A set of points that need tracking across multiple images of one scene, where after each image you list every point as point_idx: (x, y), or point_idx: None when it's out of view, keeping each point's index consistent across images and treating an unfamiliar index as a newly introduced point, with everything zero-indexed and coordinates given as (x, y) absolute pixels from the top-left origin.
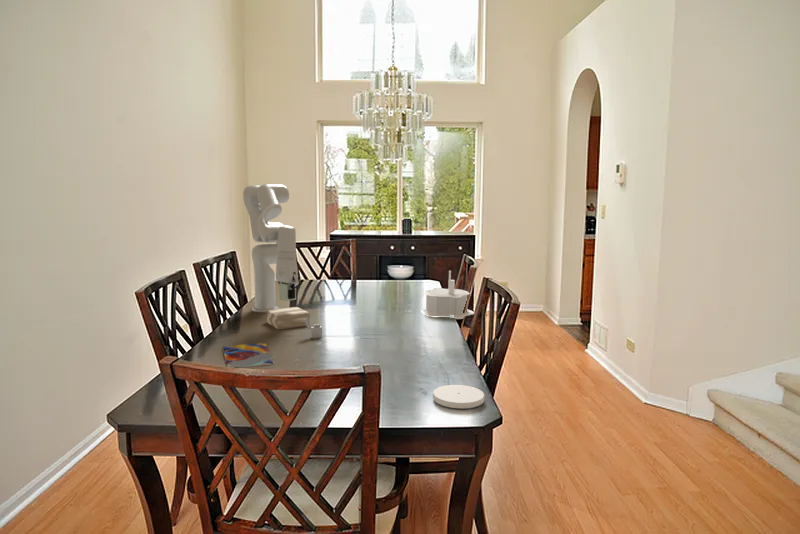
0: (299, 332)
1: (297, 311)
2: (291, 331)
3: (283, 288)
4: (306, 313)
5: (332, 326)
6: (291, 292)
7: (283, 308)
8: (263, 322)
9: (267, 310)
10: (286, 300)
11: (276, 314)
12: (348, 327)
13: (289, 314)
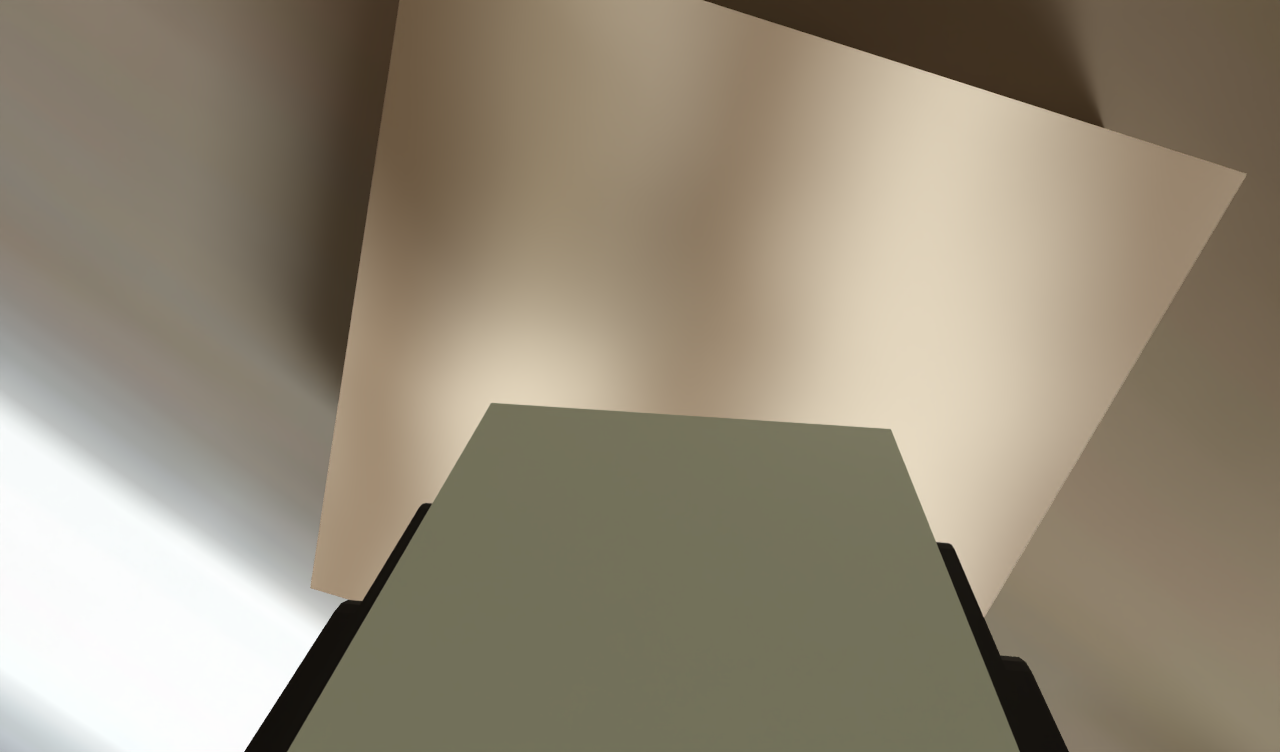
0: (120, 91)
1: None
2: (251, 38)
3: (581, 744)
4: (320, 535)
5: (186, 612)
6: (269, 716)
7: (1009, 534)
8: (1189, 103)
9: (1184, 156)
10: (485, 415)
11: (623, 25)
12: (40, 682)
13: (417, 247)
